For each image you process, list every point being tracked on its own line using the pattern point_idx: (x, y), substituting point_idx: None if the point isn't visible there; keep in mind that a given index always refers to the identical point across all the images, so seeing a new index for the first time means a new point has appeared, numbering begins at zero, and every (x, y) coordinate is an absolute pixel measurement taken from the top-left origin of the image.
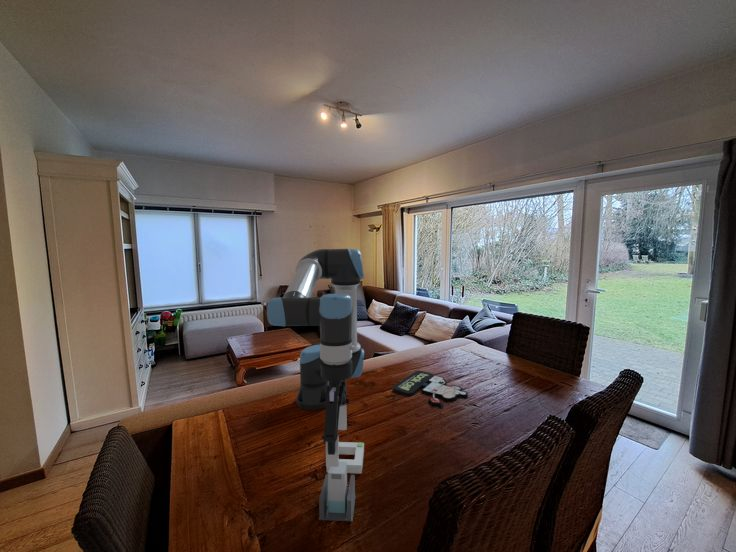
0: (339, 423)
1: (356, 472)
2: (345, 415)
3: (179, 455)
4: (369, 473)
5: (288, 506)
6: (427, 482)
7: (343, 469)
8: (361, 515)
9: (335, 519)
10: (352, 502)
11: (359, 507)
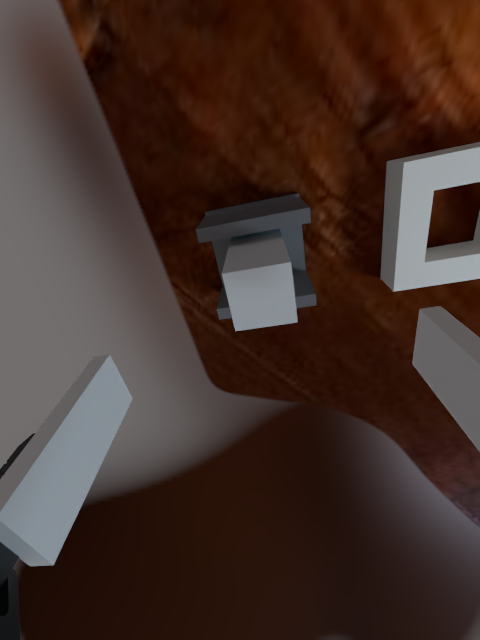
0: (441, 356)
1: (384, 266)
2: (475, 441)
3: None
4: (388, 296)
5: (228, 78)
6: (360, 411)
7: (254, 322)
8: None
9: (218, 256)
10: None
11: None
